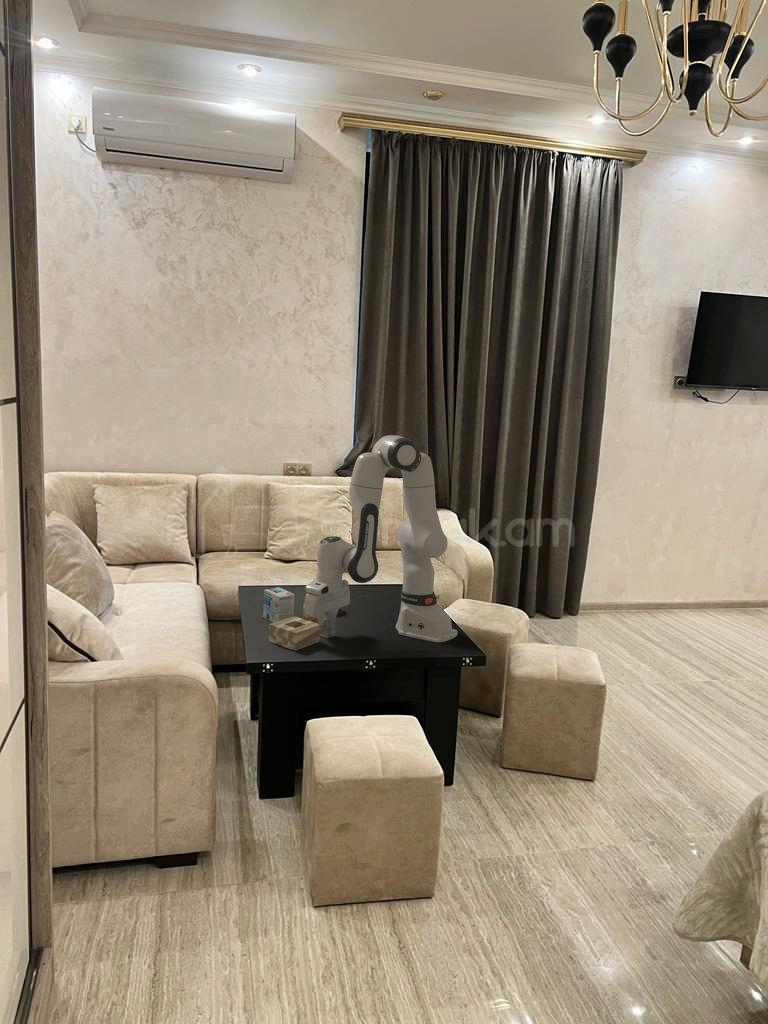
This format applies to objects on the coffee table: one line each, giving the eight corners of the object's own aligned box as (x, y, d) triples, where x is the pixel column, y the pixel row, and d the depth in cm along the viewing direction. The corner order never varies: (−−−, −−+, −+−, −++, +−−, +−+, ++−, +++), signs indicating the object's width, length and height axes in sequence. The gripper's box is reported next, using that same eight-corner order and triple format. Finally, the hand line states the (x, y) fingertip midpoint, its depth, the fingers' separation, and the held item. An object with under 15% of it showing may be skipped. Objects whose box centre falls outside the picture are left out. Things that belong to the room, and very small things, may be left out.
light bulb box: (262, 617, 276) (263, 589, 274) (278, 614, 281) (279, 586, 279) (278, 626, 268) (279, 596, 266) (294, 622, 273) (295, 594, 271)
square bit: (334, 635, 262) (336, 607, 260) (327, 638, 258) (328, 610, 257) (326, 632, 264) (327, 605, 262) (318, 635, 261) (319, 607, 259)
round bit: (322, 626, 270) (323, 605, 269) (311, 630, 265) (312, 608, 264) (310, 622, 273) (310, 601, 272) (298, 626, 269) (299, 605, 267)
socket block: (319, 641, 255) (320, 624, 254) (295, 650, 246) (295, 633, 245) (293, 632, 262) (294, 616, 261) (268, 641, 253) (269, 624, 252)
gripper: (341, 576, 268) (339, 614, 271) (302, 587, 252) (300, 627, 254) (355, 580, 264) (353, 618, 267) (316, 591, 248) (314, 632, 251)
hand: (327, 622), depth 260 cm, fingers closed on square bit, 4 cm apart
